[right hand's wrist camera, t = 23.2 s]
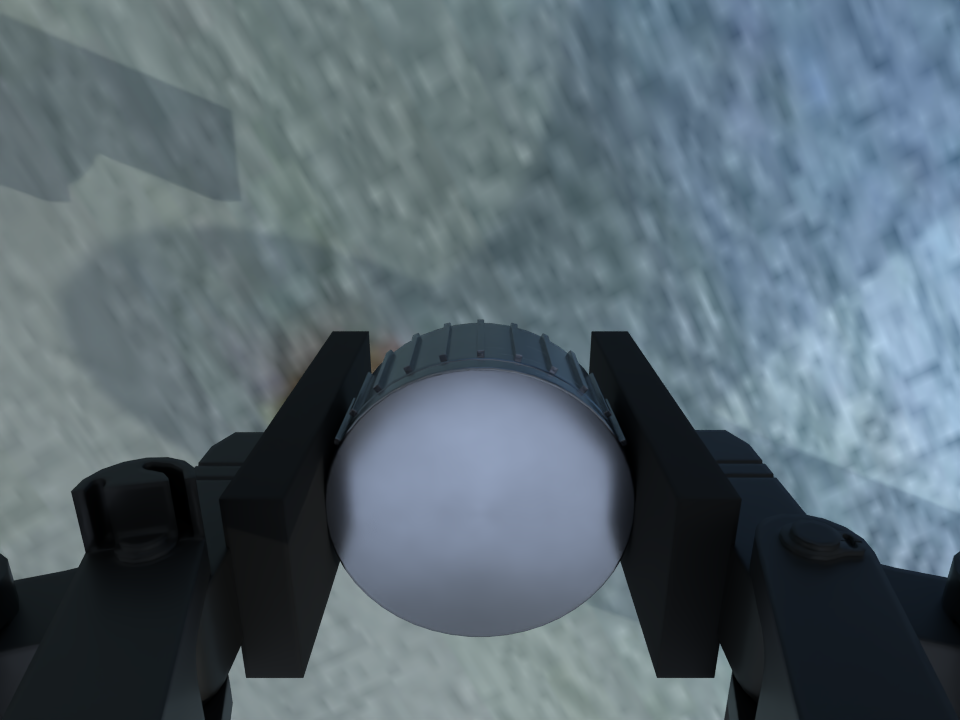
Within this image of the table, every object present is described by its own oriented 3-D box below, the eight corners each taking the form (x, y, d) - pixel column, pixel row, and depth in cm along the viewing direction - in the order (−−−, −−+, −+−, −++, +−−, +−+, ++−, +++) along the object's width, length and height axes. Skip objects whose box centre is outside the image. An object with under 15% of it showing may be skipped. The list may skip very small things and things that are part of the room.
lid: (362, 563, 13) (339, 648, 11) (328, 324, 11) (295, 371, 9) (612, 552, 13) (637, 635, 11) (615, 309, 11) (646, 353, 9)
